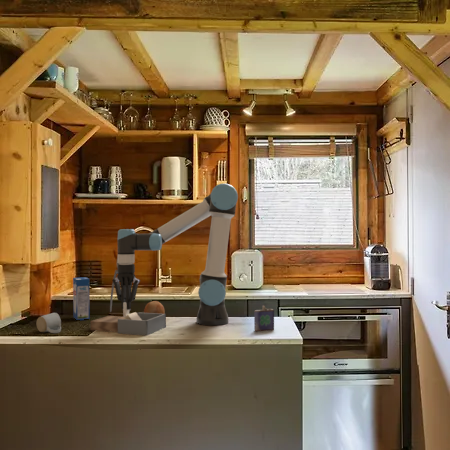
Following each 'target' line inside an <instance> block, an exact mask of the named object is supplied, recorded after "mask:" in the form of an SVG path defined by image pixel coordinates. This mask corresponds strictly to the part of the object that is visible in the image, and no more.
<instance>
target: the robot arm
mask: <svg viewBox="0 0 450 450" xmlns="http://www.w3.org/2000/svg"><path fill="white" fill-rule="evenodd" d="M238 199H239V194H238V191H237V189H236V188H235V187H234V186H233V185H231V184H228V183H219V184H217V185H215V186H214V187H213V188H212V190H211V192H210V193H209V195H207V196H206V197H205V196H204V198H203V201H201V202H199V203H198V204H196V205H195V206H193V207H191V208H190V209H188V210H186V211H184V212H183V213H181V214H179V215H178V216H176V217H174V218H173V219H171V220H169V221H168V222H167V223H165V224H163V225H161V226H159V227H158V228H156V229H154V230H152V231H151V232H149V233H136V232H135V229H134V228H130V229H129V228H126V229H125V228H123V229H119V230H118V231H117V238H116V239H117V242H116V243H117V258H118V263H119V264H118V269H117V270H118V274H117V275H116V278H115V279H113V278H112V283H114V289H115V293H116V294H115V295H116V299H117V301H119V302H121V309H122V312H123V313H122V315H123V316H122V317H126V316H127V315H128V314H130V311H129V309H131V308H132V307H131V305H132V302H134V301H135V300H136V296H137V291H138V286H139V284H140V282H141V280H140V279H139V278H136V275H135V272H136V270H135V269H136V267H135V262H136V261H135V260H136V256H135V251H153V252H154V251H161V250H162V247H163V245H164V244H165V243H166V242H168V241H170V240H172V239H174V238H176V237H177V236H179V235H180V234H181V233H184V232H186V231H187V230H189V229H190V228H192V227H194V226H195V225H197V224H199V223H200V222H202V221H204V220H206V219H208V218H209V217H210V216H211V222H210V229H209V238H208V245H207V252H206V261H205V269H204V270H203V271H201V273H200V275H199V288H198V292H197V293H198V298H199V309H198V312H197V316H196V324H198V323H199V324H198V325H202V324H203V326H221V325H225V324H226V325H227V324H228V323H229V315H228V312H227V309H226V305H225V301H226V300H225V299H226V294H227V293H226V292H227V290H226V289H227V281H228V280H227V279H228V275H227V274H226V272H225V269H226V262H227V254H228V245H229V237H230V231H231V230H230V229H231V222H232V221H231V220H232V219H233V218H234V217H235V215H236V208H237V203H238ZM131 310H132V309H131Z"/></svg>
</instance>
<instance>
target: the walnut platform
mask: <svg viewBox="0 0 450 450" xmlns="http://www.w3.org/2000/svg"><path fill="white" fill-rule="evenodd" d="M124 318H125V317H123V316H119V315H118V316H116V315H115V316H114V315H107V316H103V317H100V318H97V319H93V320H90V331H95V330H98V331H97V332H109V331H112V332H111V333H118V319H124Z"/></svg>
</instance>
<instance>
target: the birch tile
mask: <svg viewBox="0 0 450 450" xmlns="http://www.w3.org/2000/svg"><path fill="white" fill-rule="evenodd" d="M137 313H138V312H136V311H135V312H132V313H129V314H128V315H127V316H126V317H125V318H124V319H129V320H141V318H140V317H139V316H138V314H137Z"/></svg>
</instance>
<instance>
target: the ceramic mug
mask: <svg viewBox="0 0 450 450" xmlns="http://www.w3.org/2000/svg"><path fill="white" fill-rule="evenodd" d="M35 323H36V328H37V330H38V331H39V332H40V333H51V334H58V333H60V332H61V331H62V320H61V317H60V315H59V314H58V313H57V312H52V313H47V314H44V315H41V316H39V317H38V318H37V319H36V322H35Z"/></svg>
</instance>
